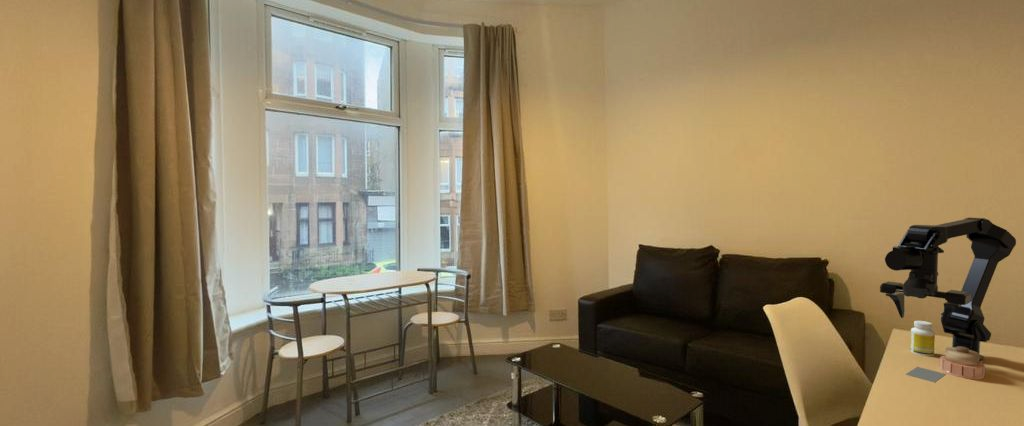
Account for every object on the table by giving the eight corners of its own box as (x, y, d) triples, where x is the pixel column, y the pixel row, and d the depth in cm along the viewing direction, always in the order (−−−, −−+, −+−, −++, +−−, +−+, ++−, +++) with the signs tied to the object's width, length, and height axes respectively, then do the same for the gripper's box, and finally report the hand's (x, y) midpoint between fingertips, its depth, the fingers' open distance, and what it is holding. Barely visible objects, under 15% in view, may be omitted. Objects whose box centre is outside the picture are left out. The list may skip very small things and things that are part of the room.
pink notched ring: (945, 365, 127) (946, 353, 126) (988, 375, 119) (988, 362, 119) (935, 372, 122) (936, 359, 122) (978, 383, 115) (979, 370, 115)
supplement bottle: (938, 357, 132) (939, 325, 132) (917, 356, 133) (918, 324, 133) (925, 351, 138) (926, 320, 137) (905, 350, 139) (906, 319, 138)
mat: (917, 368, 125) (917, 366, 125) (946, 375, 120) (946, 373, 120) (905, 375, 121) (905, 374, 121) (934, 383, 115) (934, 382, 115)
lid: (949, 355, 125) (950, 342, 125) (982, 362, 120) (982, 348, 119) (942, 360, 122) (942, 346, 121) (975, 368, 116) (975, 354, 116)
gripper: (872, 267, 132) (871, 318, 133) (959, 277, 116) (957, 335, 117) (887, 263, 137) (886, 312, 138) (972, 272, 122) (970, 327, 123)
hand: (922, 321), depth 129 cm, fingers open, 9 cm apart
